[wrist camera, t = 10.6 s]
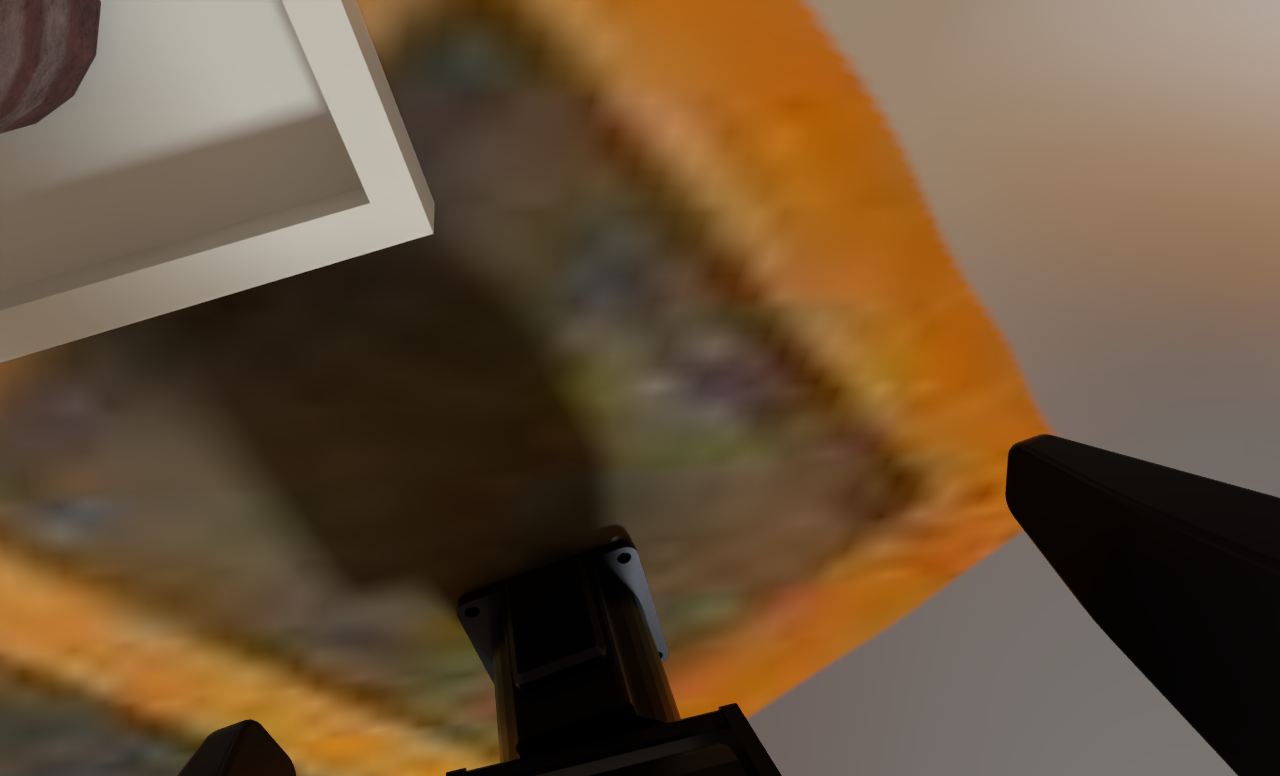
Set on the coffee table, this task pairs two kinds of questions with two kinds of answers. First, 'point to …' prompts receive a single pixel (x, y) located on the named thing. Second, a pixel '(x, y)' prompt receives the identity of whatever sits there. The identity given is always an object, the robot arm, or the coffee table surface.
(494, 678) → the robot arm
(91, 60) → the can
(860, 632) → the coffee table surface
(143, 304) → the tray
